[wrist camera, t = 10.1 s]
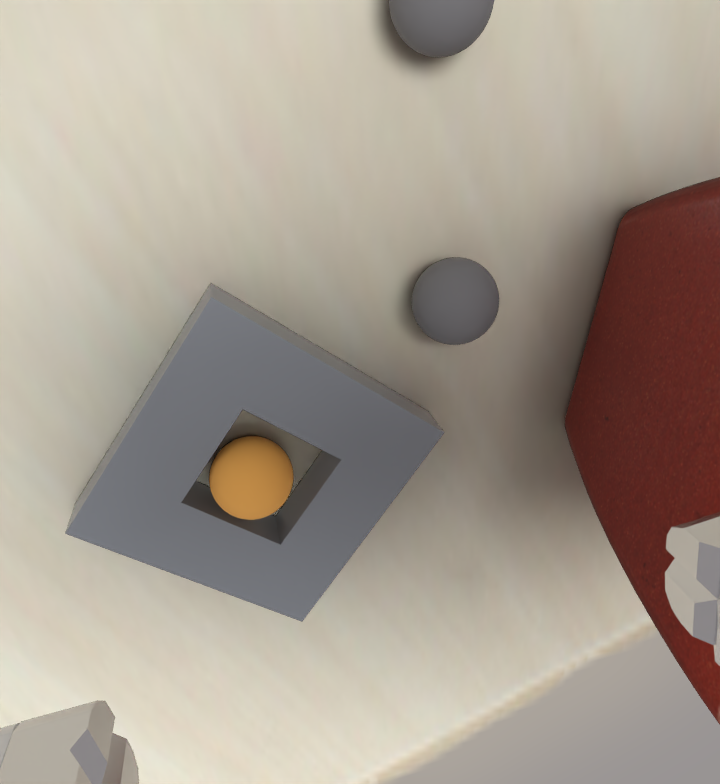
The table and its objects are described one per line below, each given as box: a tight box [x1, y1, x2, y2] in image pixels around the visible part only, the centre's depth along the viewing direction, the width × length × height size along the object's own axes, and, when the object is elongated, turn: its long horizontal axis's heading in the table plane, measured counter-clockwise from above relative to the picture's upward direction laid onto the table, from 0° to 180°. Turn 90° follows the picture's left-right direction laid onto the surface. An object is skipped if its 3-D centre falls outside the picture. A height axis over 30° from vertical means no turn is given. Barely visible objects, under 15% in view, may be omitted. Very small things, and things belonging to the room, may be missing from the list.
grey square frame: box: [65, 283, 444, 621], centre depth 31 cm, size 13×13×2 cm
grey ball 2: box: [412, 257, 499, 345], centre depth 29 cm, size 4×4×4 cm
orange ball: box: [209, 436, 293, 520], centre depth 30 cm, size 4×4×4 cm
